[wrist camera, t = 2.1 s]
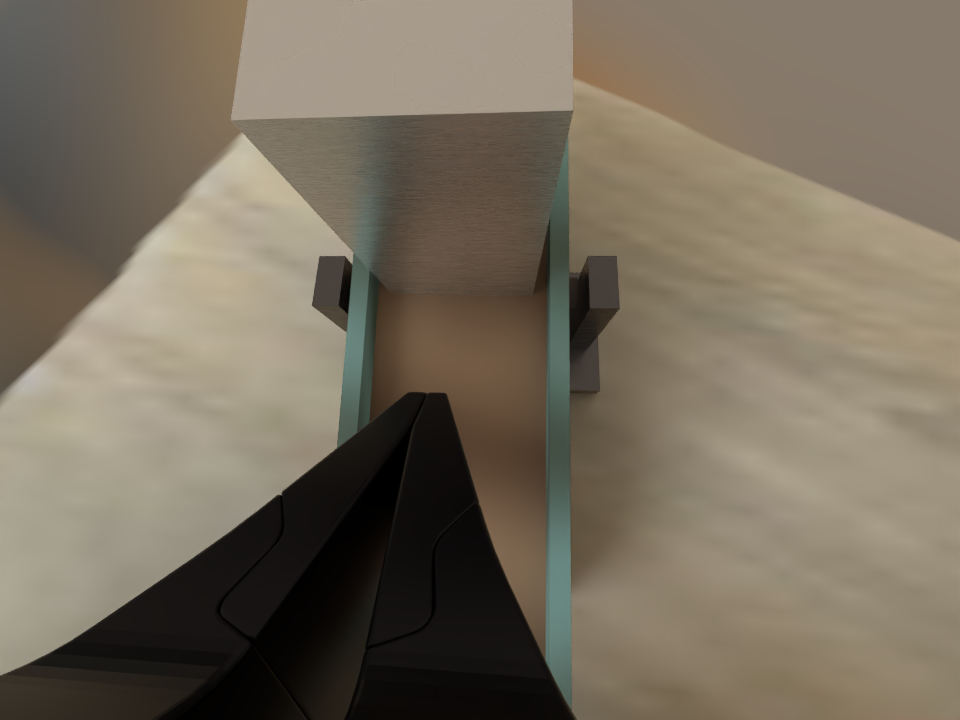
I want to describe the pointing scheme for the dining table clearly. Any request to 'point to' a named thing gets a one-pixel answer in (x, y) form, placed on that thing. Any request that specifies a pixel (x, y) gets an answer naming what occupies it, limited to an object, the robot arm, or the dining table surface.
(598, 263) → the beam stand
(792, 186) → the dining table surface
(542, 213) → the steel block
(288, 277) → the dining table surface
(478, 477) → the balance beam
